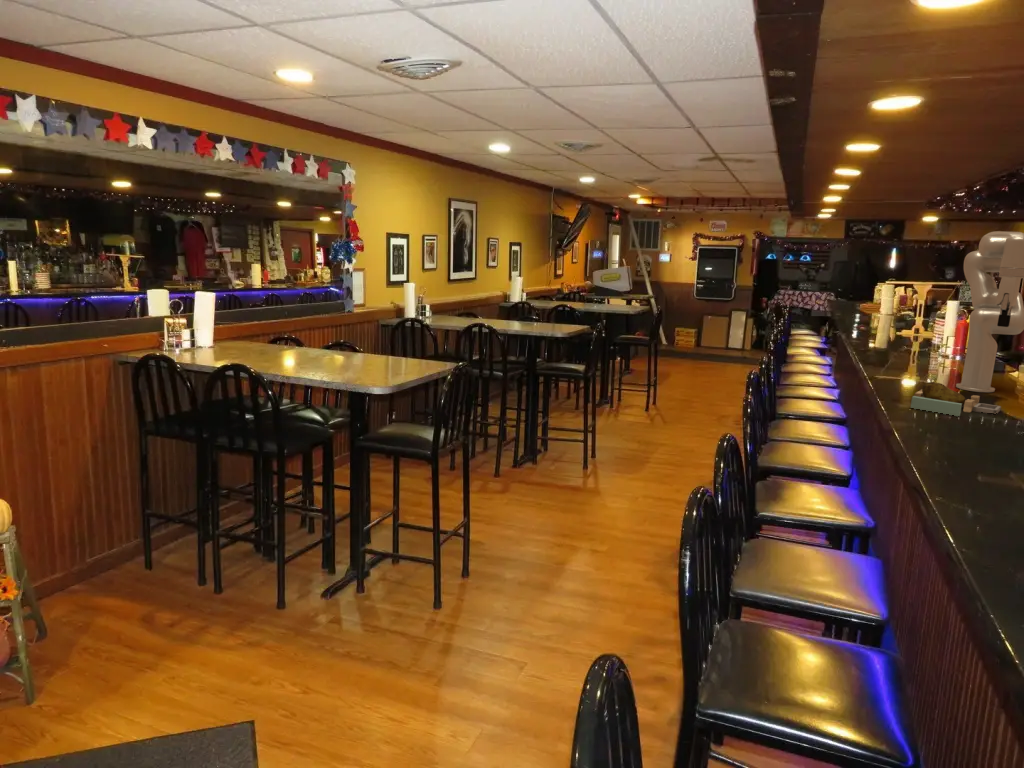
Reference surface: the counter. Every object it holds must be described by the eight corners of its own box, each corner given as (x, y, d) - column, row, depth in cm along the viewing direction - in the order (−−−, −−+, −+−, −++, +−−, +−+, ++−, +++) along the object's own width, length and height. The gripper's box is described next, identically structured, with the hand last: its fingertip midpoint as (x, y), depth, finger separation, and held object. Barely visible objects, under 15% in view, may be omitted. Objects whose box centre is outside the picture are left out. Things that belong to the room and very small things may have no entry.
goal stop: (911, 407, 234) (913, 396, 233) (959, 415, 225) (961, 403, 224) (910, 408, 233) (912, 396, 232) (958, 416, 224) (960, 404, 223)
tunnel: (922, 397, 251) (924, 387, 250) (978, 406, 240) (979, 396, 239) (913, 403, 241) (914, 393, 240) (970, 412, 230) (971, 402, 229)
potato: (961, 411, 231) (965, 388, 229) (917, 404, 239) (921, 382, 238) (965, 407, 237) (969, 384, 235) (922, 401, 245) (926, 378, 244)
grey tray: (978, 407, 238) (978, 402, 238) (1000, 410, 234) (1001, 406, 234) (972, 411, 232) (973, 406, 231) (995, 414, 228) (996, 410, 227)
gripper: (1002, 272, 246) (993, 323, 250) (995, 273, 235) (986, 326, 239) (1028, 273, 241) (1019, 326, 245) (1022, 274, 230) (1012, 329, 234)
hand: (1002, 326), depth 242 cm, fingers closed
